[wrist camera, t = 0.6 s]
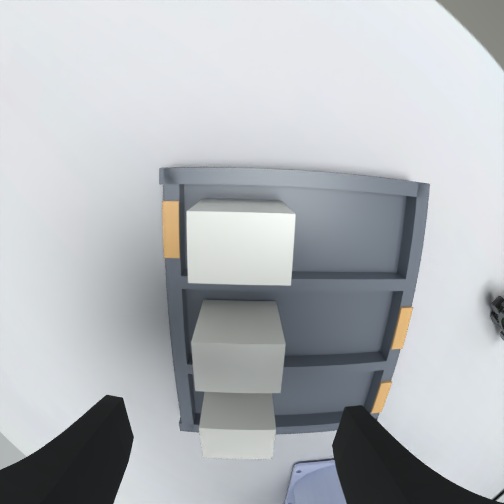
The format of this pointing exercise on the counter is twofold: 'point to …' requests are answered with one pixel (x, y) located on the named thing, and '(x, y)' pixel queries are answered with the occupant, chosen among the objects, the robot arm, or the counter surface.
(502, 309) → the valve
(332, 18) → the counter surface
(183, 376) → the grey divided tray
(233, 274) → the off-white plastic block
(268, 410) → the pale grey block
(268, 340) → the off-white block
